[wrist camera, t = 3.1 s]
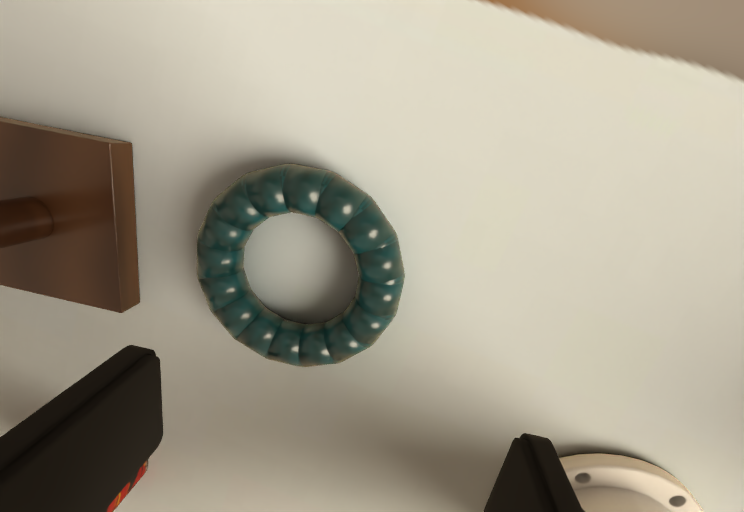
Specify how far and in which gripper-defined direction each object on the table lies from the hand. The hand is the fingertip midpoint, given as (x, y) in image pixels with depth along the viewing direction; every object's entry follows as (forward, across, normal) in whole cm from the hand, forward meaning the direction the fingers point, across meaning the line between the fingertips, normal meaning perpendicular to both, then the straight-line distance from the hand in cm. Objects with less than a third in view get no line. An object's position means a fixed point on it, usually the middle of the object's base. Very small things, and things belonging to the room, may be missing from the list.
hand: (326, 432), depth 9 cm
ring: (+10, +4, 0) cm, 11 cm away
